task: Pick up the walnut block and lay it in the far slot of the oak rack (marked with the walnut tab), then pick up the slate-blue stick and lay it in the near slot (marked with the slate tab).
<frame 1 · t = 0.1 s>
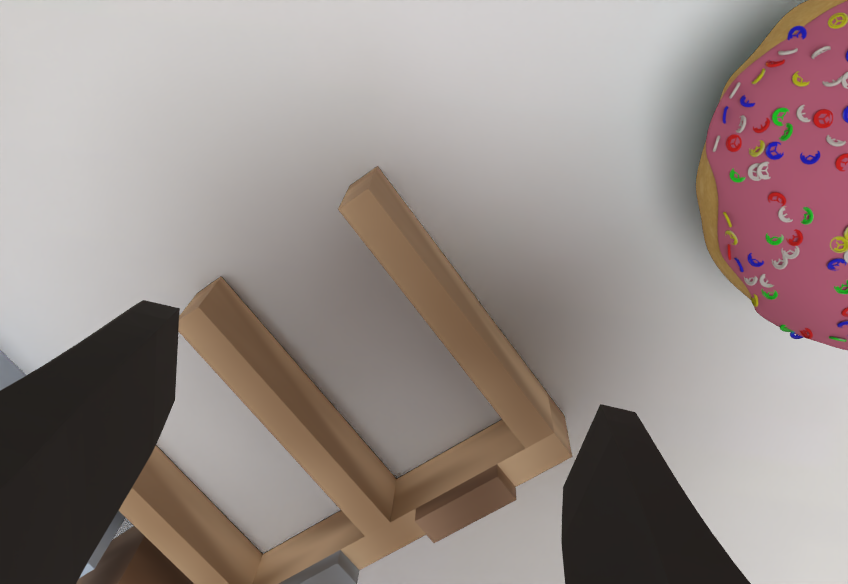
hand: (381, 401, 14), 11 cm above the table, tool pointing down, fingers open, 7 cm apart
slate stick: (26, 429, 27), on the table
cupcake: (816, 125, 22), on the table
rack: (301, 390, 26), on the table
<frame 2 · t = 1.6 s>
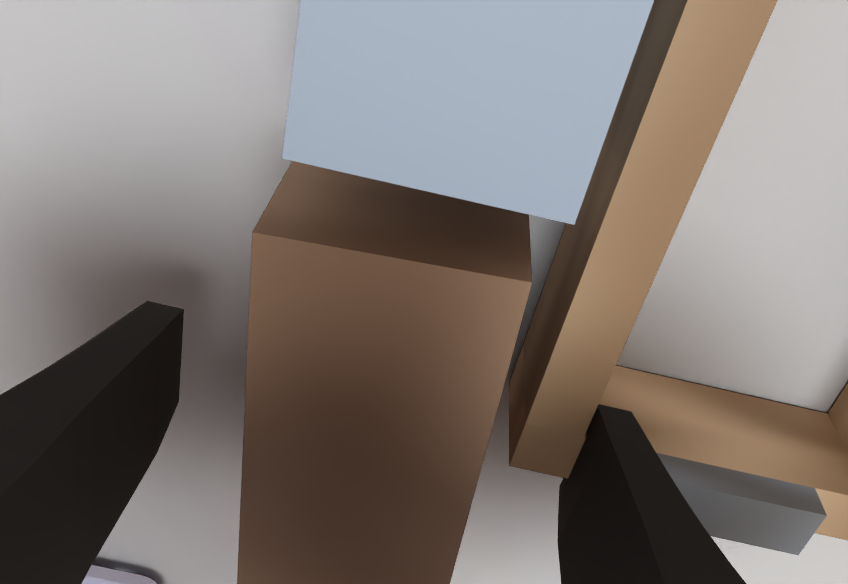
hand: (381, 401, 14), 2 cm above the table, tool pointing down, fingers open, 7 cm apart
walnut block: (389, 329, 15), on the table
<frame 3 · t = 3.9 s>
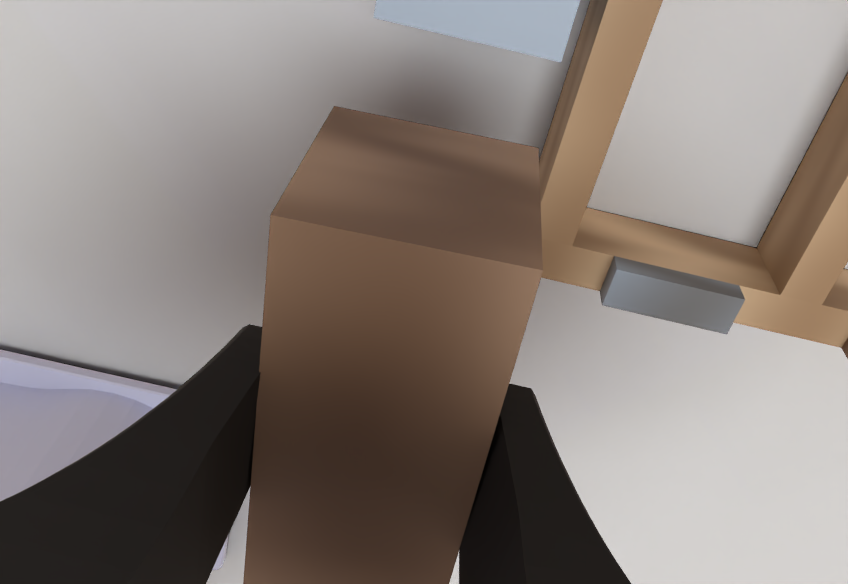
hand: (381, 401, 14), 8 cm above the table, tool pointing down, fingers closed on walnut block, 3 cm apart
walnut block: (399, 318, 16), point 6 cm above the table, touching gripper
when the fingers open (3 cm above the table, at t = 6.1 s): walnut block drops 1 cm, resting in rack.
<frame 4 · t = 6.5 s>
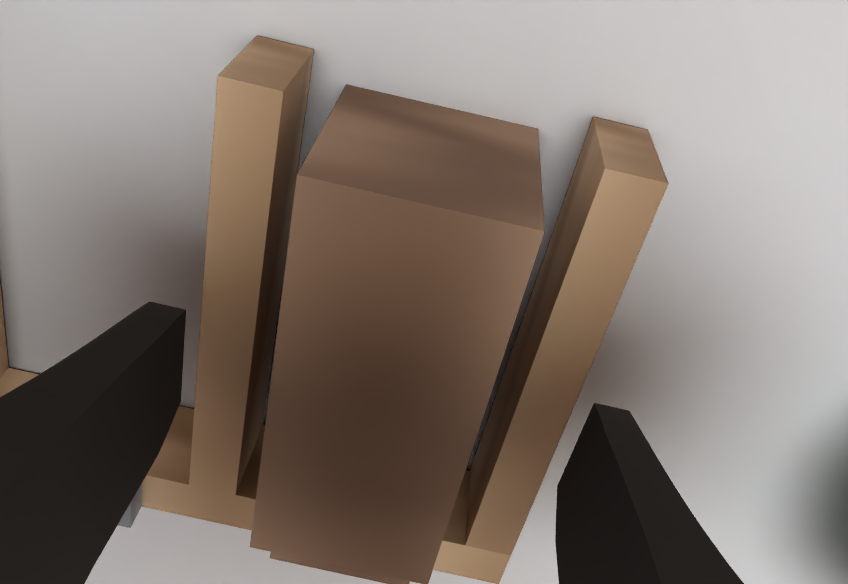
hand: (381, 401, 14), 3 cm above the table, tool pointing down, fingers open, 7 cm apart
walnut block: (402, 285, 17), resting in rack
rack: (260, 259, 16), on the table
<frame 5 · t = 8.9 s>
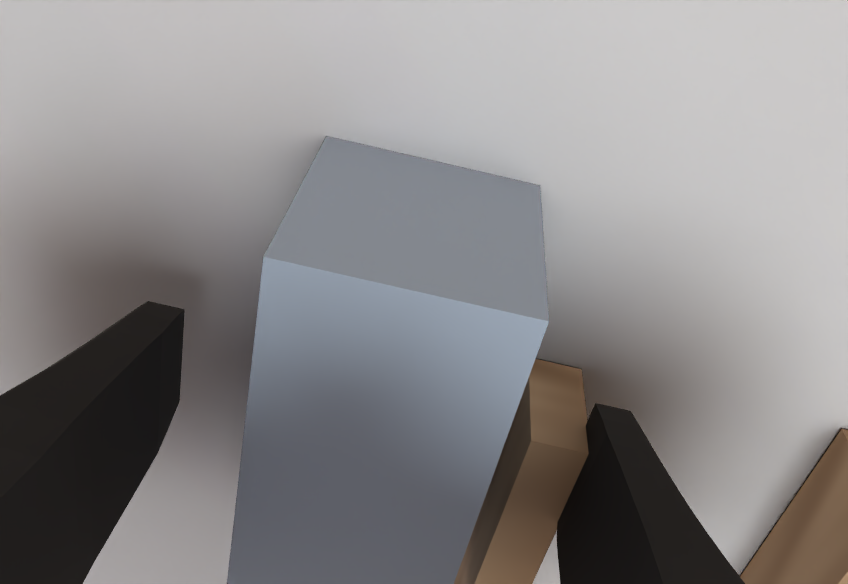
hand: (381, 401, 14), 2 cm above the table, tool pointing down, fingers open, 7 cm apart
slate stick: (390, 348, 15), on the table
rack: (761, 582, 17), on the table
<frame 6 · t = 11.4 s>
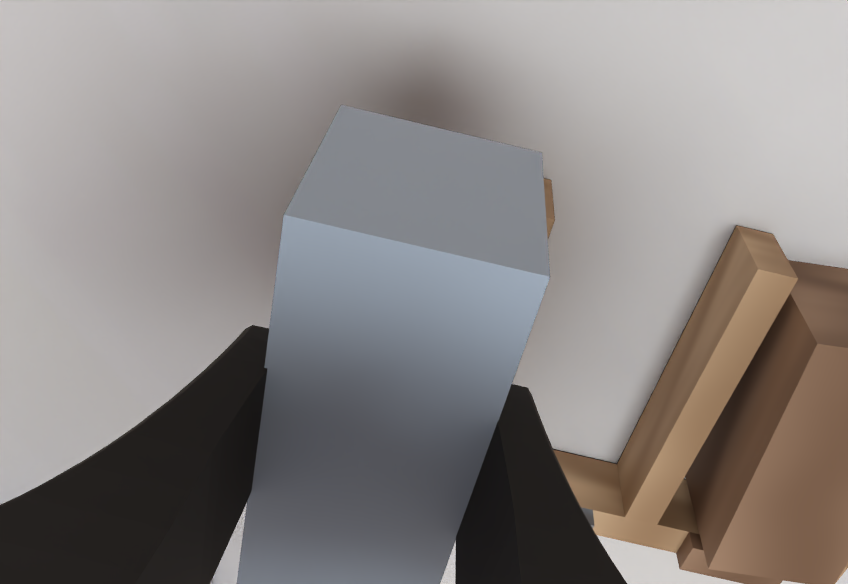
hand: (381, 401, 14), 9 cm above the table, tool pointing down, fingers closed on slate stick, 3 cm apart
slate stick: (397, 315, 16), point 6 cm above the table, touching gripper
walnut block: (781, 378, 24), resting in rack
rack: (686, 361, 23), on the table
when the fingers open (3 cm above the table, at t = 13.1 s): slate stick stays where it is, resting in rack.
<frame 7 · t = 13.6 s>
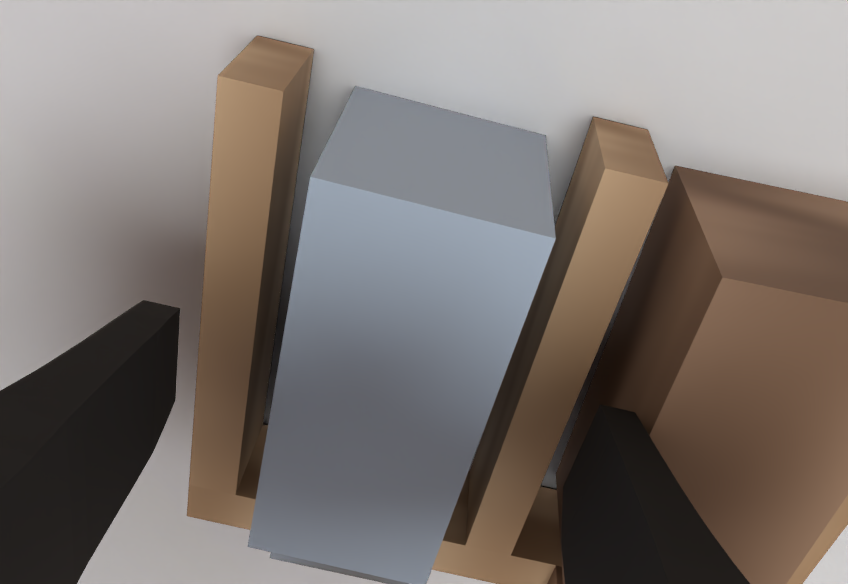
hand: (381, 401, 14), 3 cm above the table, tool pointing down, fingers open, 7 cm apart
slate stick: (404, 287, 17), resting in rack
walnut block: (688, 352, 17), resting in rack
rack: (545, 325, 16), on the table
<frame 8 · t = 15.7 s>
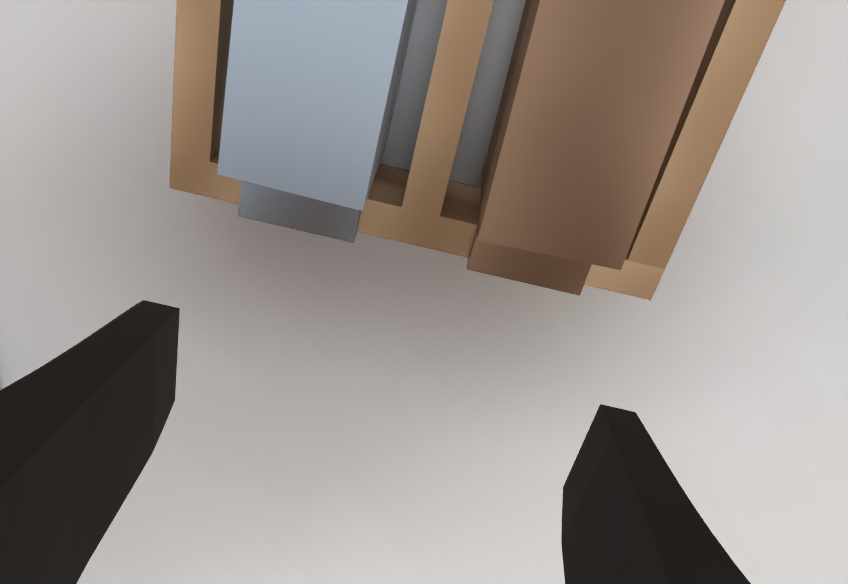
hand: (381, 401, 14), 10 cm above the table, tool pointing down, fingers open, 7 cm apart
walnut block: (586, 42, 20), resting in rack
rack: (466, 14, 20), on the table
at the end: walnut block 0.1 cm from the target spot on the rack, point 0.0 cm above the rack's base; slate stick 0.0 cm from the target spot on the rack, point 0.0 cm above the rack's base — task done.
